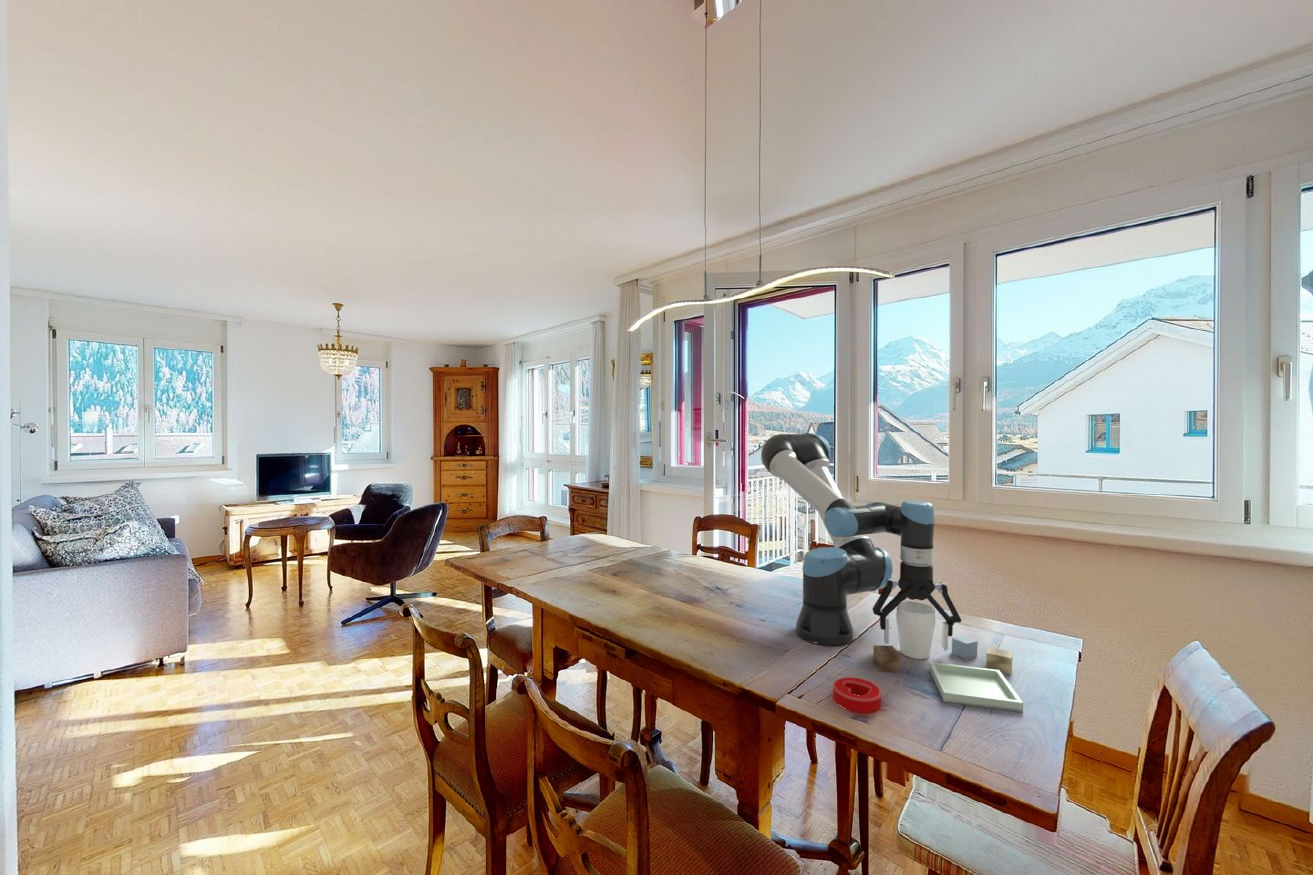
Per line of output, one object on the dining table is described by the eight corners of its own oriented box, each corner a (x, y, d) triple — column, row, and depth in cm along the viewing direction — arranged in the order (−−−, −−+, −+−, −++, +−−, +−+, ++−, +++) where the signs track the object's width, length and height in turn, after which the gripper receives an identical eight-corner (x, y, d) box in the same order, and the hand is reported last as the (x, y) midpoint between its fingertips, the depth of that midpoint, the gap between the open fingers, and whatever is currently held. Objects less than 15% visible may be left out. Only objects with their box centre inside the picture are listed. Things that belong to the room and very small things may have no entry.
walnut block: (880, 672, 127) (880, 653, 126) (873, 663, 131) (873, 645, 131) (899, 672, 127) (900, 653, 126) (891, 663, 131) (892, 645, 131)
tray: (943, 701, 113) (943, 692, 113) (929, 670, 127) (929, 661, 127) (1022, 712, 109) (1023, 702, 109) (999, 678, 123) (999, 669, 123)
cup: (939, 663, 131) (940, 615, 130) (900, 659, 133) (901, 612, 132) (928, 647, 140) (929, 602, 139) (891, 644, 142) (892, 600, 141)
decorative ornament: (891, 707, 112) (891, 692, 112) (858, 719, 107) (858, 703, 107) (855, 686, 120) (855, 672, 120) (823, 696, 116) (823, 682, 116)
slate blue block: (966, 659, 133) (966, 643, 133) (951, 652, 137) (952, 637, 137) (977, 656, 135) (977, 641, 134) (962, 650, 138) (962, 635, 138)
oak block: (986, 669, 128) (986, 652, 128) (987, 662, 131) (988, 646, 131) (1011, 675, 125) (1011, 658, 125) (1012, 668, 128) (1012, 652, 128)
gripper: (865, 562, 135) (864, 645, 136) (976, 570, 128) (974, 657, 129) (862, 555, 142) (861, 633, 143) (967, 562, 135) (965, 644, 136)
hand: (915, 644), depth 136 cm, fingers open, 13 cm apart
